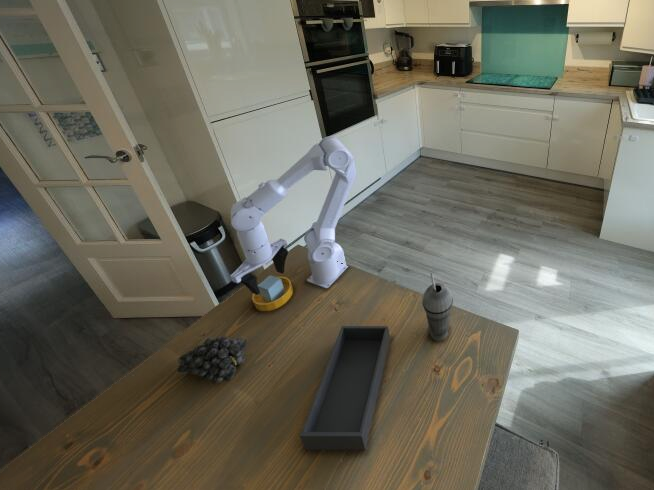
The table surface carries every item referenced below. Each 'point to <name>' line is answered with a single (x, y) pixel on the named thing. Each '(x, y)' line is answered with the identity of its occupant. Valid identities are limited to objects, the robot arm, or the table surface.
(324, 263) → the robot arm
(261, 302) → the bowl
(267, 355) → the table surface
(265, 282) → the toy block
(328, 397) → the bin
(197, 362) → the fruit
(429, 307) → the beverage cup
